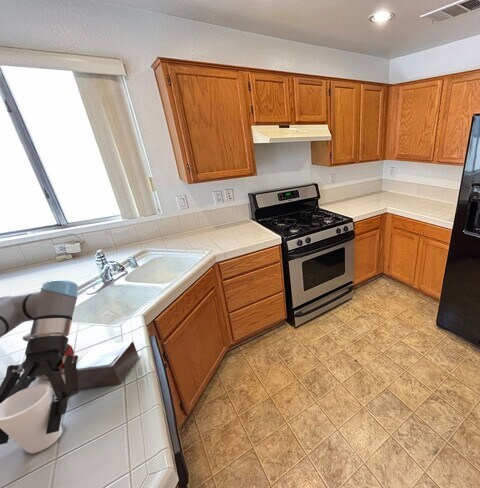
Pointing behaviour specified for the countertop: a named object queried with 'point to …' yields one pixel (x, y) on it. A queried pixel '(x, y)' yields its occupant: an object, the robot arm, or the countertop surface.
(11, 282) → the countertop surface
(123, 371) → the box
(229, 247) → the countertop surface
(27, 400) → the foam cup
